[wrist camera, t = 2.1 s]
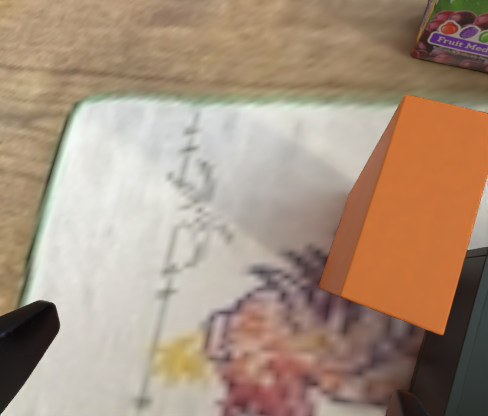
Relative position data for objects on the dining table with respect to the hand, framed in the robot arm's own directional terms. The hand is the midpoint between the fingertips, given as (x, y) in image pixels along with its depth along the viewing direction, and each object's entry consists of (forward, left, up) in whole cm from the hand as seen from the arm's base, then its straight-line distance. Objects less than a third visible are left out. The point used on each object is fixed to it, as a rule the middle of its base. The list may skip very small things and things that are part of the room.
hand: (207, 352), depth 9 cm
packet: (+6, -4, -15) cm, 17 cm away
